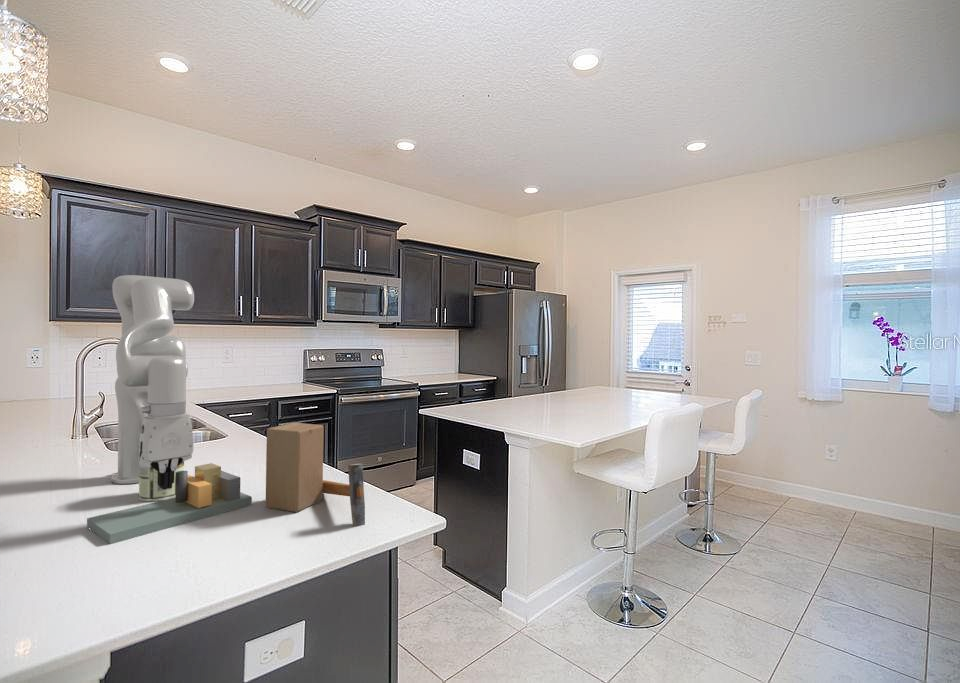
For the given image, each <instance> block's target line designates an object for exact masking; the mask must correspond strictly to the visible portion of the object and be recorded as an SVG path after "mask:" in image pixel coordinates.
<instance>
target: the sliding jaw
mask: <svg viewBox="0 0 960 683" xmlns="http://www.w3.org/2000/svg"><path fill="white" fill-rule="evenodd" d="M175 502H176V503H182V502H186V503H188V504H191V505H193V506H195V507H197V508H201V507H205V506H208V505H212V484H211V483H208V482H206V481H203V480H200V479H198V478H195V476H193V475H190V474H189V472H188V470H184V471H178V472H176V498H175Z"/></svg>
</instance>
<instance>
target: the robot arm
mask: <svg viewBox="0 0 960 683" xmlns="http://www.w3.org/2000/svg"><path fill="white" fill-rule="evenodd" d="M111 288H112V290H111V291H112V297H113V301H114V303H115V306H116V308H117V310H118V312H119V315H120V318H121V337H120V338H119V341H118V342H117V345H116V349H115V360H116V361H115V362H116V373H117V378H116V380H115V383H114V389H115V390H114V391H115V396H116V404H117V412H118V413H117V419H118V420H117V421H118V422H117V425H118V428H117V431H118V432H117V442H118V443H117V473H115V474H113V475H111V477H110V482H111V483H113V484H119V485H121V484H122V485H123V484H124V485H126V484H127V485H128V484H129V485H130V484H136V483H137V484H139V466H141V467H152V468H154V469H155V470H156V471H158V486H160V488H162V489H164V490H165V489H167V488H169V489H170V488H172V483H174V471H175V470H176V469H177V467H178V466H179V465H180V464H181V462H183V461H184V462H185V461H188V460H190V459H192V458H193V455H192V454H193V453H194V448H195V447H194V435H193V434H194V432H193V424H192V420H191V416H190V413H186V407H187V406H186V404H187V403H186V400H187V377H188V372H189V367H188V362H186V361H187V360H186V359H187V358H186V356H187V354H186V352H187V351H186V345H185V342H184V340H183V339H182V338H181V337H179V336H175V335H169V333H171V332H172V331H173V329H174V326H175V322H174V318H173V311H189V310H191V309H192V308H193V306H194V304H195V303H194V302H195V291H194V289H193V287H192V285H191V283H190V282H188V281H186V280H183V279H180V278H171V277H169V278H168V277H159V276H148V275H139V274H137V275H136V274H134V275H133V274H130V275H129V274H127V275H126V274H125V275H120V276H117V277H115V279H113V282H112V287H111ZM139 456H140V461H139ZM164 460H168V462H167V467H166V469H165V463H164Z"/></svg>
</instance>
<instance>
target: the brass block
mask: <svg viewBox="0 0 960 683" xmlns="http://www.w3.org/2000/svg"><path fill="white" fill-rule="evenodd" d="M221 471H222V466H221V465H218V464H214V463H212V462H211V463H206V464H205V463H204V464H201V465H195V466H194V477H195V478H198V479H200V480H203V481H206V482H208V483H211V484H212V500H216V499H219V498H221Z"/></svg>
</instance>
